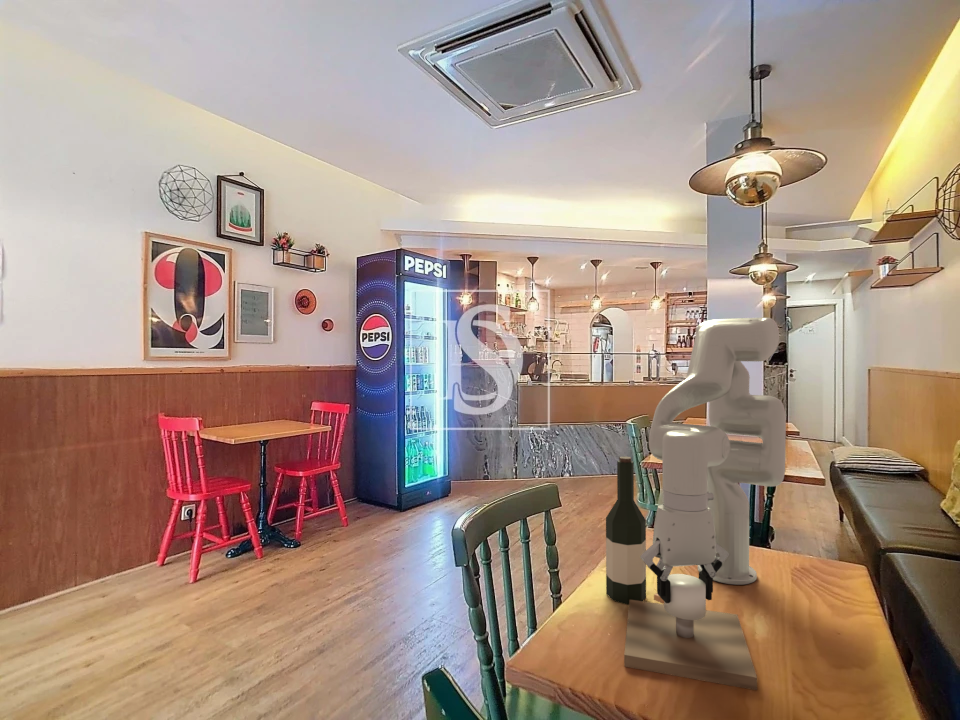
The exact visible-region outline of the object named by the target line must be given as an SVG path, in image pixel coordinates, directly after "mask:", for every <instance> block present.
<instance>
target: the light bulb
mask: <svg viewBox="0 0 960 720" xmlns="http://www.w3.org/2000/svg"><path fill="white" fill-rule="evenodd" d="M668 580H669V581H670V599H671V601H670V603H665V602H664V601H663V600H662V598H661V597H660V596H659V595H658V593H657V592H655V593H654V594H653V600H654V601H656V602H659V604H664V609H665V610H666V611H667V612H668V613H669V614H671V615H672V616H675V617H677V618H681V619H686V620H698V619H701V618H703V617H704V616H705V615H706V610H707V608H706V607H707V605H706V604H707V599H706V584H705V583H704V582H703V581H702V580H700V579H699V577H697V576H694V575H690V574H683V573H672V574H671V573H670V574H669V576H668Z"/></svg>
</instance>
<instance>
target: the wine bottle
mask: <svg viewBox="0 0 960 720" xmlns="http://www.w3.org/2000/svg"><path fill="white" fill-rule="evenodd" d="M616 465H617V466H616V467H617V468H616V470H617V471H616V474H617V475H616V477H617V478H616V483H617V484H616V487H617V490H616V491H617V495H616V496H617V500H616V501H615V502H614V504H613V506H612V507H611V509H610V511H609V512H608V514H607V516H606V517H605V559H606V560H605V561H606V562H605V579H606V580H605V586H606V589H605V591H606V592H605V593H606V595H607V596H608V597H609V598H610V599H611V600H612V601H613V602H617V603H621V604H625V605H628V606H629V600H637V601H645V599H646V597H647V565H646V564H645V563H644V561H643V560H642V559H641V555H642V554H643V553H644V552H645V551H646V550H647V533H646V532H647V526H646V524H647V519H646V518H645V517H644V514H643V512H642V511H641V509H640V508H639V506H638V505H637V503H636V502H635V499H634V496H635V495H634V490H635V488H634V487H635V485H634V483H635V482H634V481H635V478H634V474H635V472H634V470H635V468H634V467H635V465H634V461H633V460H632V457H630V456H620V457H619V458H618V460H617V464H616Z"/></svg>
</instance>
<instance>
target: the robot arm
mask: <svg viewBox="0 0 960 720" xmlns="http://www.w3.org/2000/svg"><path fill="white" fill-rule="evenodd" d="M779 342H780V330H779V326H778V324H777V322H776V321H775V320H774V319H773V318H772V317H744V318H743V317H740V318H717V319H710V320H709V319H708V320H706V321H703V322H700V324H697V327H696V329H695V337H694V341H693V345H692V351H691V355H690V359H689V363H688V369H687V374H686V377H685V379H684V380H682V381H680V383H677V384H676V385H675V386H674V387H672V388H671V389H670V390H669V391H668V392H667V393H666V394H665V395H664V396H663V397H662V398H661V400H659V402H658V404H657V406H656V407H655V410H654V414H653V419H652V420H651V421H652V422H651V426H650V429H649V434H648V435H649V437H648V449H649V450H650V453H651V455H652V456H653V457H654V458H656V459H657V460H660V461H662V504H659V505H657V509H656V513H655V518H654V525H653V533H652V534H653V536H652V545H651V546H649V547H648V548H646V551H645V552H644V553H643V554H642V555H641V559H642V560H643V561H644V563H645V564H646V567H648V569H649V570H651V571H652V573H654V575H656V593H658V595H659V596H660V597H661V598H662V600H663V601H664V602H665V603H670V601H671V599H670V581H669V580H668V576H669V575H671V572H672V570H673V568H675V567H688V566H689V567H691V566H697V571H698V578H699V579H700V580H702V581H703V582H704V583H705V584H706V601H712V600H713V592H714V581H715V582H717V583H722V584H728V585H737V586H739V585H740V586H742V585H749V584H752V583H754V582H756V580H757V577H758V574H757V571H756V570H755V569H754V568H753V567H752V566H750V502H749V499H748V496H747V494H746V493H745V491H744V490H743V488H742V487H741V486H740V484H747V485H756V486H764V487H777V486H779V485H781V484H782V483H783V481H784V479H785V475H786V472H785V471H786V442H787V441H786V439H787V438H786V431H787V419H786V410H785V406H784V403H783V402H782V400H781V399H780V398H778V397H775V396H773V395H765V394H762V395H761V394H760V395H759V394H751V393H750V379H751V377H750V372H749V370H748V369H747V368H746V367H745V365H744V364H743V362H765V361H767V360H768V359H769V358H770V357H771V356H772V355H773V354H774V353H775V352H776V351H777V348H778V346H779ZM707 403H708V404H709V405H708V420H709V421H708V423H709V425H699V424H689V423H680V422H679V423H677V422H674V420H675V419H676V418H677V417H678V416H679V415H680V414H682V413H683V412H685V411H688V410H689V409H691V408H695V407H698V406H700V405H704V404H707ZM727 434H728V435H736V436H749V437H758V438H760V439H761V440H762V442H754V441H744V440H736V439H729V436H728V435H727ZM654 558H657V559H659V560H658V562H657V564H655V562H654V561H653V559H654Z"/></svg>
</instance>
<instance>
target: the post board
mask: <svg viewBox="0 0 960 720" xmlns="http://www.w3.org/2000/svg"><path fill="white" fill-rule="evenodd" d="M626 623H627V624H626V632H625V633H626V634H625V643H624V654H623V655H624V657H623V658H624V659H623V662H624V663H623V665H624V666H623V667H626V668H629V669H630V668H632V669H637V670H641V671H642V670H643V671H646V672H647V671H648V672H653V673H660V674H665V675H669V676H674V677H681V678H685V679H686V678H687V679H693V680H696V681H697V680H698V681H704V682H709V683H714V684H720V685H726V686H732V687H738V688H743V689H747V690H748V689H749V690H754V691H757V690H758V677H757V672H756V669H755V667H754V663H753V661H752V657H751V654H750V650H749V647H748V644H747V641H746V638H745V635H744V631H743V629H742V628H743V627H742V624H741V621H740V618H739V615H738V614H736V613H731V612H730V613H729V612H722V611H714V610H708V609H706V615H705V616H704V617H703V618H701V619H698V620H686V619H681V618H677V617H675V616H672V615H671V614H669V613H668V612H667V611H666V610H665V609H664V604H663V603H657V602H651V601H650V602H649V601H645V600H643V601H637V600H629V604H628V613H627V622H626Z"/></svg>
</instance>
